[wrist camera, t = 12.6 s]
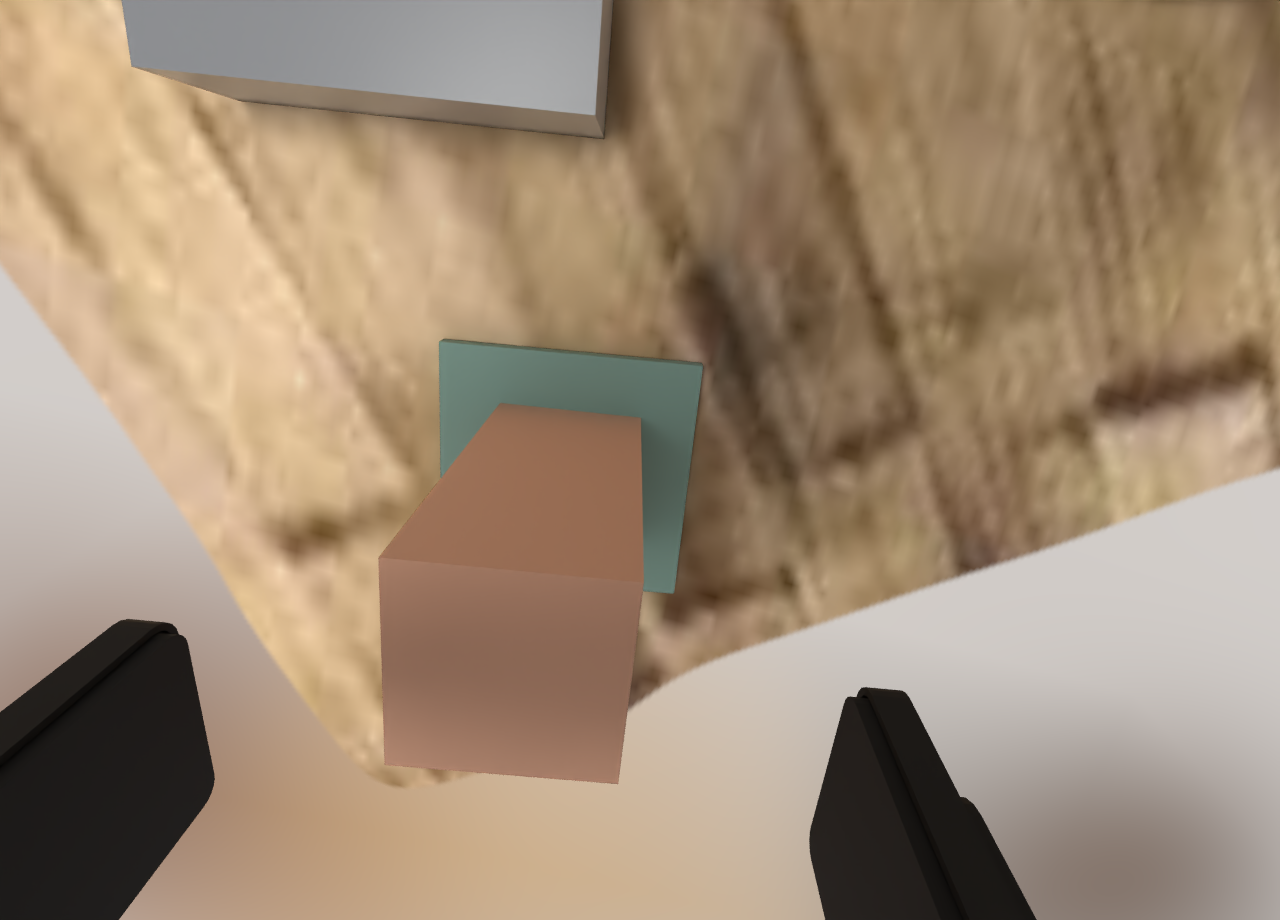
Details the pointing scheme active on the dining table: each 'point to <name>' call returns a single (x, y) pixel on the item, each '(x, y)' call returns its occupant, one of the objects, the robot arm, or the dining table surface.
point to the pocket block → (391, 57)
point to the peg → (518, 601)
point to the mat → (588, 385)
